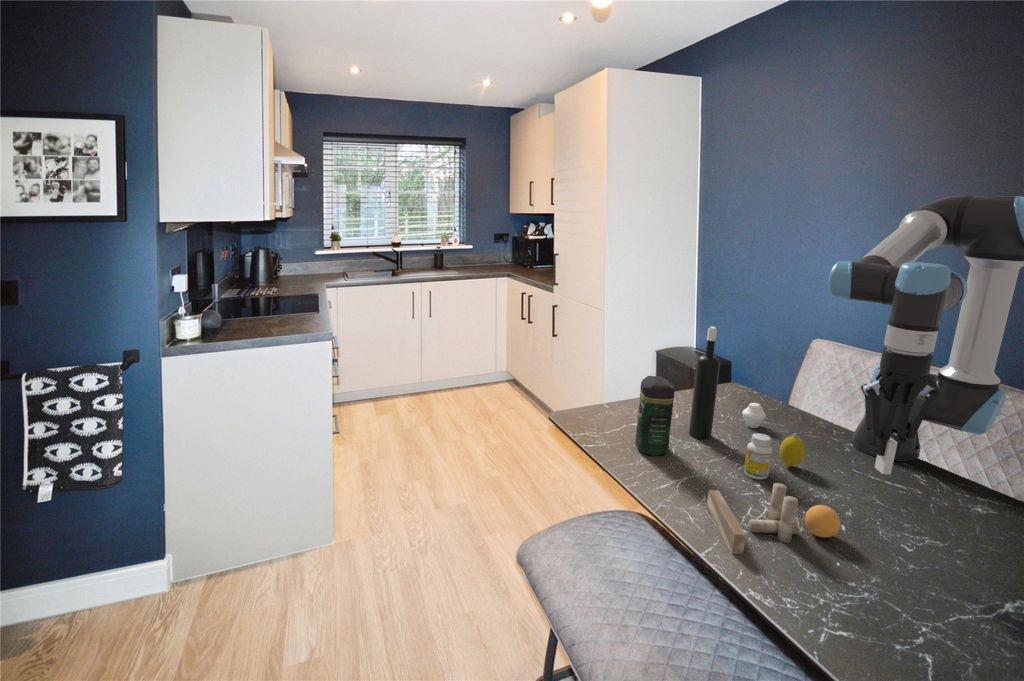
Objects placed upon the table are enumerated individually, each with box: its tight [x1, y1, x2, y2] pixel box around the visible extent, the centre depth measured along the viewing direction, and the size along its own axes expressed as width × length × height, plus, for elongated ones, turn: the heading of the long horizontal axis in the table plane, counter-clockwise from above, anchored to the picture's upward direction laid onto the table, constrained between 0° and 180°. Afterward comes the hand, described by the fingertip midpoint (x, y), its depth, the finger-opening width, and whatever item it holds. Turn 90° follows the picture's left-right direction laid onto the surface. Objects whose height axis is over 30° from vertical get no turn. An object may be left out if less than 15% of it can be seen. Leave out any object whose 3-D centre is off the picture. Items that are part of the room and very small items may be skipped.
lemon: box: [779, 435, 806, 467], centre depth 141 cm, size 6×6×8 cm
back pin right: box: [767, 482, 788, 521], centre depth 116 cm, size 2×2×8 cm
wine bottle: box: [688, 325, 721, 440], centre depth 155 cm, size 6×6×30 cm
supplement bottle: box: [743, 432, 773, 480], centre depth 136 cm, size 5×5×10 cm
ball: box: [804, 504, 841, 539], centre depth 113 cm, size 6×6×6 cm
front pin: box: [748, 518, 799, 535], centre depth 114 cm, size 2×2×8 cm
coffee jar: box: [634, 375, 676, 456], centre depth 147 cm, size 10×8×19 cm
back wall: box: [706, 489, 747, 555], centre depth 114 cm, size 2×16×4 cm, turn 178°
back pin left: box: [776, 495, 799, 544], centre depth 111 cm, size 2×2×8 cm
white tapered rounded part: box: [741, 402, 767, 429], centre depth 165 cm, size 6×6×7 cm
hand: (882, 470), depth 110 cm, fingers closed
